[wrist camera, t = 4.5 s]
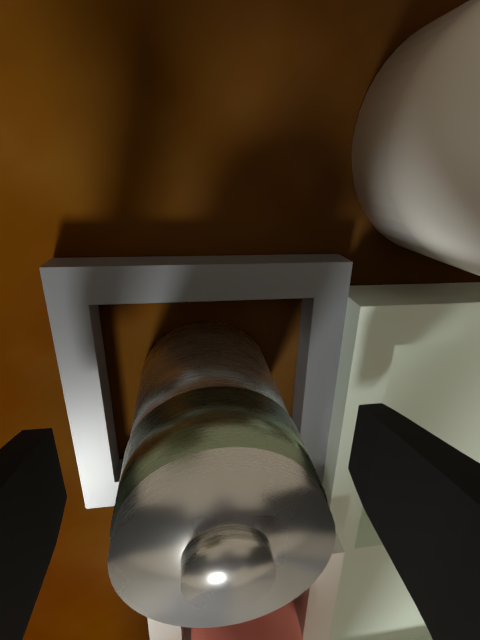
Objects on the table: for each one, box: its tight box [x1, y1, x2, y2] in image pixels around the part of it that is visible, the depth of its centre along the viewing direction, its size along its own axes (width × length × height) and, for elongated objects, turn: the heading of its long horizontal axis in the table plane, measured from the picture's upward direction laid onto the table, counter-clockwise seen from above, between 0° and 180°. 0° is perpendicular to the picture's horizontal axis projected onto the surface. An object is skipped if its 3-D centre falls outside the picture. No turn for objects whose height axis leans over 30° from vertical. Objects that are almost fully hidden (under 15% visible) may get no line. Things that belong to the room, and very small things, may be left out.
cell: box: [108, 321, 336, 628], centre depth 9 cm, size 4×4×6 cm
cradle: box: [39, 254, 353, 509], centre depth 11 cm, size 8×8×1 cm
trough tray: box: [322, 282, 480, 640], centre depth 15 cm, size 20×14×2 cm
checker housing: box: [147, 530, 345, 640], centre depth 14 cm, size 6×6×3 cm
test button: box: [191, 600, 303, 640], centre depth 13 cm, size 4×4×4 cm
